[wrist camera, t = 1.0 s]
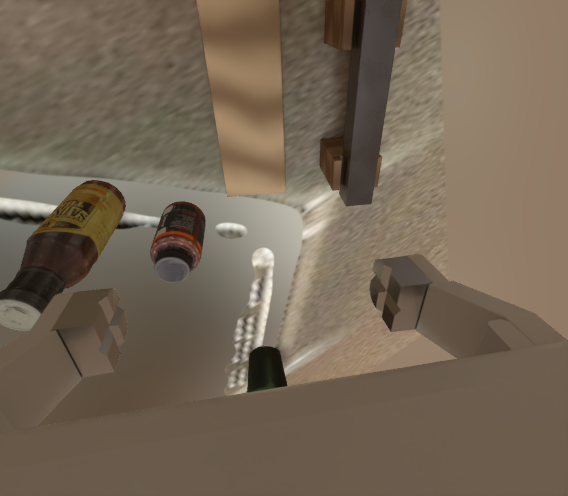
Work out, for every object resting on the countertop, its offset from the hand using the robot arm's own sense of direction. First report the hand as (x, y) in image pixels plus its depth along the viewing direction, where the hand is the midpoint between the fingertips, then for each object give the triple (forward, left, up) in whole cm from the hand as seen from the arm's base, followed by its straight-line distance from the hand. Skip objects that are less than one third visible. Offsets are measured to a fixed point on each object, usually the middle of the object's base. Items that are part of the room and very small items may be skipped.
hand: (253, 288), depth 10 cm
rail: (+1, +12, -27) cm, 29 cm away
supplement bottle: (+16, -10, -33) cm, 38 cm away
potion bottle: (+51, -1, -33) cm, 61 cm away
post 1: (-6, +12, -33) cm, 35 cm away
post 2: (+8, +12, -33) cm, 36 cm away
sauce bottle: (+12, -20, -33) cm, 40 cm away
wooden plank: (+1, +1, -33) cm, 33 cm away
